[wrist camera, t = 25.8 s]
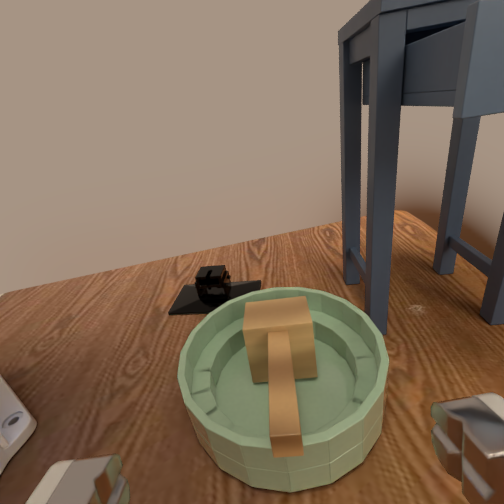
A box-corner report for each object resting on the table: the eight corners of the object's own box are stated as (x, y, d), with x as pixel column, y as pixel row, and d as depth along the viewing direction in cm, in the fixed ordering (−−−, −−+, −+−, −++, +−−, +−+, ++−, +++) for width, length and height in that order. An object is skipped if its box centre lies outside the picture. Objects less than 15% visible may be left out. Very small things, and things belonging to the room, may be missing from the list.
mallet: (343, 494, 18) (339, 425, 16) (247, 500, 19) (230, 433, 16) (310, 345, 31) (305, 295, 29) (254, 350, 32) (245, 302, 30)
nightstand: (605, 410, 22) (969, -215, 9) (408, 422, 23) (475, -103, 10) (444, 265, 41) (486, 2, 28) (342, 276, 43) (337, 31, 30)
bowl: (161, 396, 29) (143, 355, 27) (278, 307, 39) (273, 271, 36) (297, 569, 17) (288, 524, 14) (419, 377, 26) (426, 330, 24)
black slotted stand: (168, 316, 41) (158, 288, 39) (185, 286, 47) (177, 261, 45) (256, 311, 38) (250, 281, 36) (261, 280, 45) (256, 254, 43)
